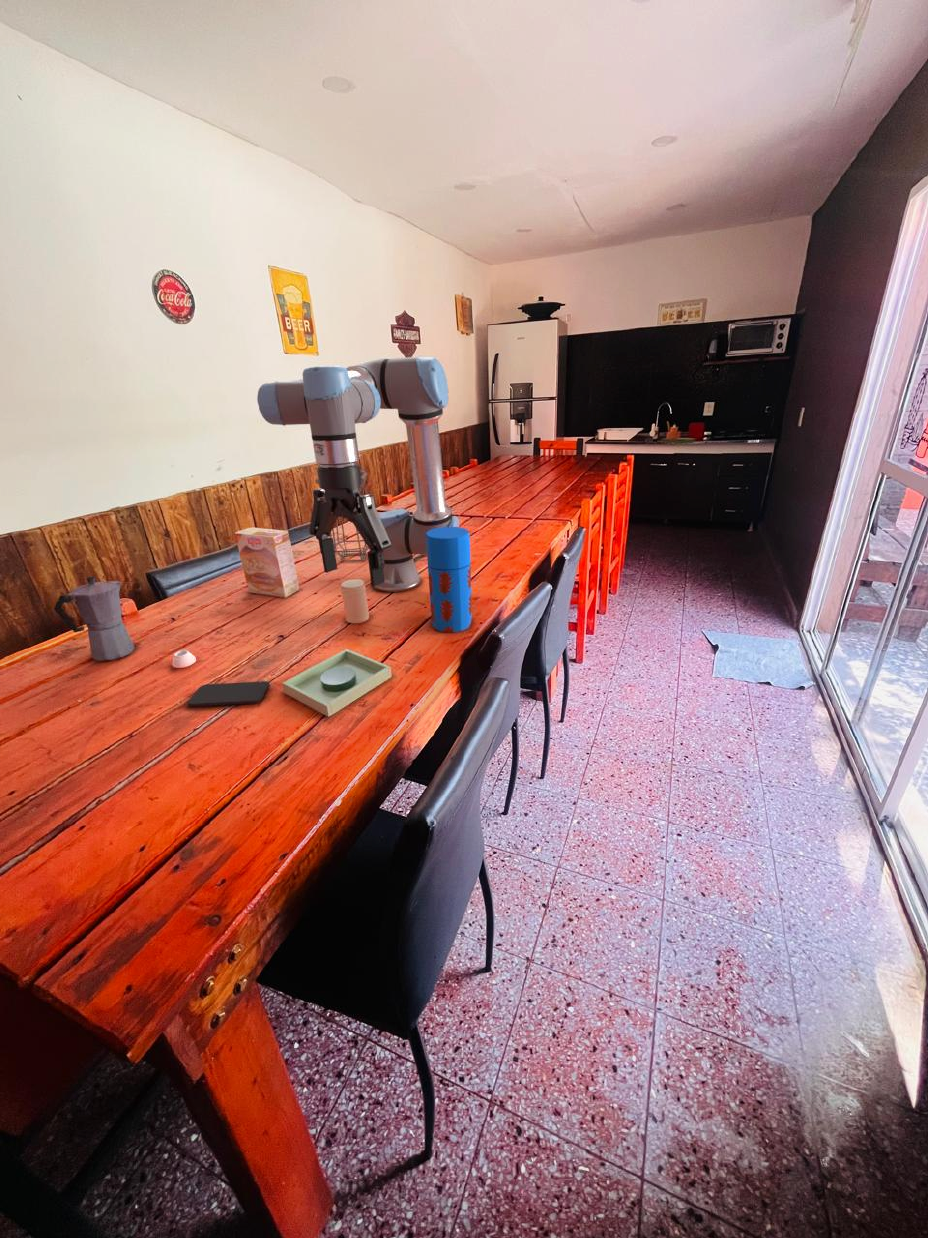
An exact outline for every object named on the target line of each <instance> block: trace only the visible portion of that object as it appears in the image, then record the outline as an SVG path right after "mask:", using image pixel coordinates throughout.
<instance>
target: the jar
mask: <svg viewBox="0 0 928 1238" xmlns="http://www.w3.org/2000/svg"><path fill="white" fill-rule="evenodd" d="M340 586H341V596H342V603H343V609H344V616H345V621H346V622H347V623H350V624H361V623H364V622H366V621H368V620H369V619H370V611H369V603H368V595H367V588H366V585H365V581H364V580H363V579H359V578H352V579H347V580H345V581H343V582H342V583H341V584H340Z"/></svg>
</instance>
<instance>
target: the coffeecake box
mask: <svg viewBox="0 0 928 1238" xmlns="http://www.w3.org/2000/svg"><path fill="white" fill-rule="evenodd" d="M233 534H234V537H235V541H236V545H237V549H238V554H239V556H240V562H241V567H242V570H243V575H244V578H245V582H246V586H247V591H248V593H251V594H258V595H259V594H260V595H267V596H274V597H279V598H284V599H285V598H287V597H289V596H292V594H294V593H296V592H299V591H300V586H299V579H298V575H297V570H296V565H295V560H294V553H293V550H292V544H291V539H290V534H289V530H282V529H271V528H262V527H261V528H260V527H252V526H251V527H247V528H244V529H242V530H241V529H240V530H237V531H235V532H234V533H233Z"/></svg>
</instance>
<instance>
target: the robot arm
mask: <svg viewBox="0 0 928 1238" xmlns="http://www.w3.org/2000/svg"><path fill="white" fill-rule="evenodd" d="M444 369H445V368H444V367H443V365H442V363H441V362H440V360H439V359H437V358H435V357H431V356H429V357H428V356H410V357H409V356H408V357H396V358H379V359H374V360H370V361H366V362H363V363H359V364H355V365H351V366H347V367H346V366H343V365H322V366H321V365H320V366H307V367H305V368H304V369H303V371H302V378H301V379H295V380H290V381H278V380H277V381H276V380H275V381H274V382H273V381H272V382H264V383H263V384H262V385H260V386H259V388H258V391H257V399H256V400H257V405H258V409H259V410H258V411H259V413H260V415H261V417H262V418H263V419H264V420H265V421H266V422H267V423H268V424H271V425H275V426H277V425H279V426H283V427H284V426H293V425H294V426H295V425H296V426H297V425H309V427H310V433H311V440H312V447H313V453H314V461H315V463H316V464H317V465H319V466H317V468H316V474H317V480H318V481H319V484H318V487H319V488H317V489H313V490H312V494H313V495H312V496H313V505H312V511H311V517H310V523H309V524H310V525H309V530H308V531H309V534H310V536H315V538H316V540H318V541H317V542H318V546H319V553H320V555H321V559H322V565H323V570H324V573H326V574H328V573H330V572H333V571H336V570H338V563H337V562H338V561H337V556H336V553H335V549H334V546H335V545H334V539H333V534H332V529H333V528H334V527H335V526H336V521H337V522H338V518H339V517H340V518H341V517H342V519H347V520H348V522H349V523H352V524H353V525H354V527H355V530H356V529H357V530H358V534H359V536H360V537H361V538H362V540H364V541H365V542H364V541H363V542H364V544H365V543H366V545H367V546H368V547H369V548H368V549H369V551H368V552H367V551H366V554H367V560H368V561H367V562H368V569H369V578H370V583H371V584H370V585H371V587H373V588H374V589H375V590H377V591H380V592H384V593H399V592H400V593H401V592H407V591H410V590H413V589H414V588H416V587H418V586H419V585H420V584H421V576H420V573H419V571H418V568H417V566H416V563H415V561H416V560H418V559H419V558H422V557H424V556H427V547H426V533H427V532H428V531H429V530H432V529H435V528H440V527H460V520H459V517H458V516H456V515H453V511H452V508H451V507H450V506H449V505H447V502H446V501H447V500H446V491H445V479H444V471H443V470H444V469H443V460H442V449H441V439H440V430H439V420H440V418H442V416H443V415H444V411H443V409H445V408H446V407H447V406H448V404H449V385H448V380H447V375H446V372H445V370H444ZM381 409H382V410H397V414H398V419H399V420H400V421H402V422H403V423H404V424H405V429H406V438H407V444H408V452H409V460H410V467H411V474H412V483H413V488H414V495H415V496H414V497H415V503H416V507H415V509H414V510H413V512H412V515H411V512H410V511H409V510H408V509H404V508H398V509H397V508H396V509H392V510H386V511H383V512H380V513H379V512H378V509H377V508H376V504H375V499H374V496H373V494H372V493H370V494H364V496H362V494H361V492H360V493H359V490H360V485H361V486H362V483H363V479H361V471H360V470H361V465H359V464H358V462H359V461H360V454H359V446H358V438H357V433H356V424H366V423H367V422H369V421H371V420H373V419H375V417H376V416H377V415H378V413H379V412H380V410H381ZM360 494H361V495H360ZM330 536H331V537H332V538H331V537H330ZM413 555H417V556H415V557H413Z"/></svg>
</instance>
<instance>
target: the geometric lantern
mask: <svg viewBox="0 0 928 1238" xmlns="http://www.w3.org/2000/svg"><path fill="white" fill-rule="evenodd" d="M360 471H361V479H362V484H361V485H360V487H359V493H360V495H361V496H365V486H366V484H365V483H366V480H367V475H368V472H366V471H364V470H362V469H360ZM315 482H316V484H318V485H319V481H318V479H316V480H315ZM361 490H362V494H361ZM343 519H344V518H343V517H340V521H341V522H340V523H341V531H342V539H343V540H341V541H340V535H339V525H338V523H339V522H338V520H337V521H336V523H335V526H336V527H335V528H336V536H335V528H334V527H333V529H332V531H331V533H332V536H330V537H331V538H333V543H334V549H335V555H338V556H340V559H341V560H340V561H342V562H363V561H365V560H366V557H367V556H368V554H367V550H368V549H369V547H368V546H367V544H366V543H365V541H364V540H363V539H360V533H359V532H358V530H357V529H356V528H355V530H356V531H355V533H356V537H357V539H356V540H355V539H354V540H353V539H352V540H346V537H345V529H344V528H345V527H344V520H343ZM330 537H329V538H330ZM336 539H337V542H336ZM357 542H358V548H357V547H356V548H347V545H346V543H357ZM361 542H363V543H364V546H363V547H362V546H361ZM342 544H344V547H343V546H342ZM338 545H339V546H340V548H341V549H342V550H338V549H337V547H338ZM345 557H360V559H345Z"/></svg>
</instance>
